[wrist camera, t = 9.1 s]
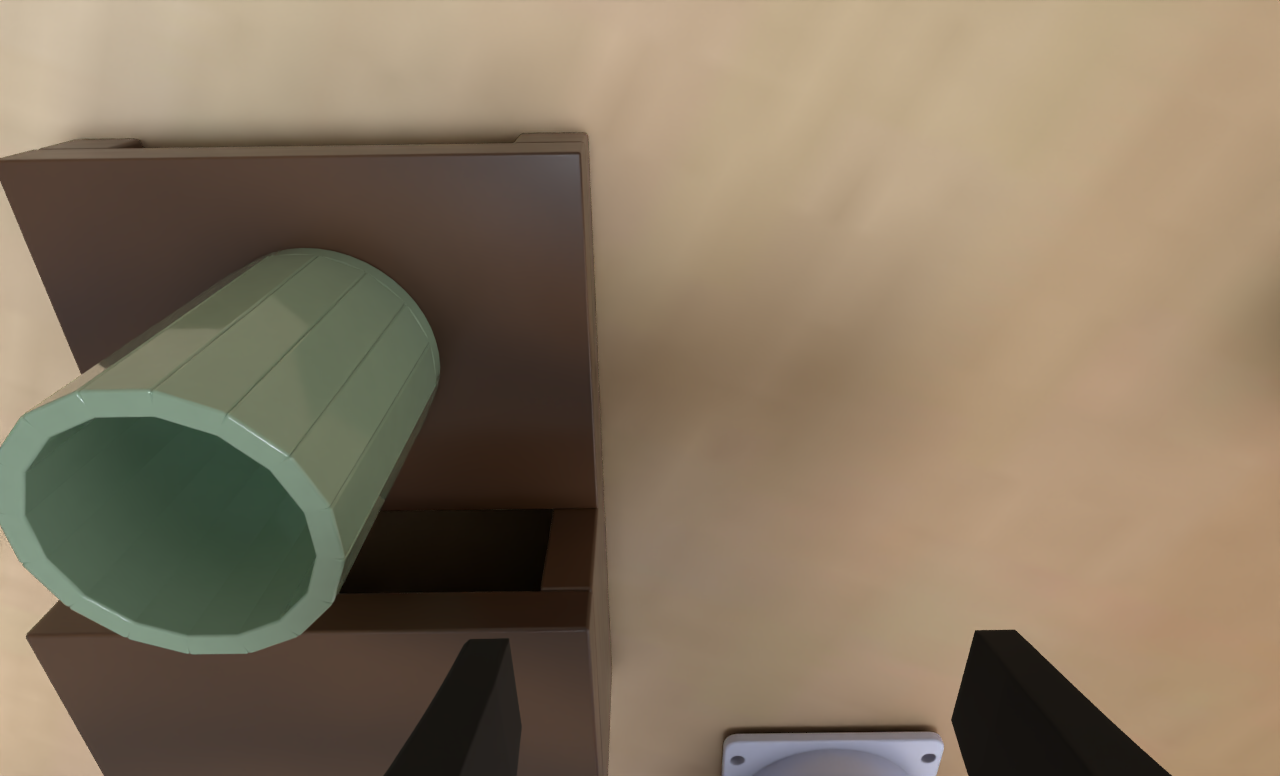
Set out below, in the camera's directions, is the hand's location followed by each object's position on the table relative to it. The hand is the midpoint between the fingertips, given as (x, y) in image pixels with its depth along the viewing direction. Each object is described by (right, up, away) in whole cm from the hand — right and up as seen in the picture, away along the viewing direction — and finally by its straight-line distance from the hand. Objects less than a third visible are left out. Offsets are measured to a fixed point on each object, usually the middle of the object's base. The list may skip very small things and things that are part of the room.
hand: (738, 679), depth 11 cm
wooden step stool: (-9, +3, +10) cm, 13 cm away
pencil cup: (-9, +5, +5) cm, 12 cm away
